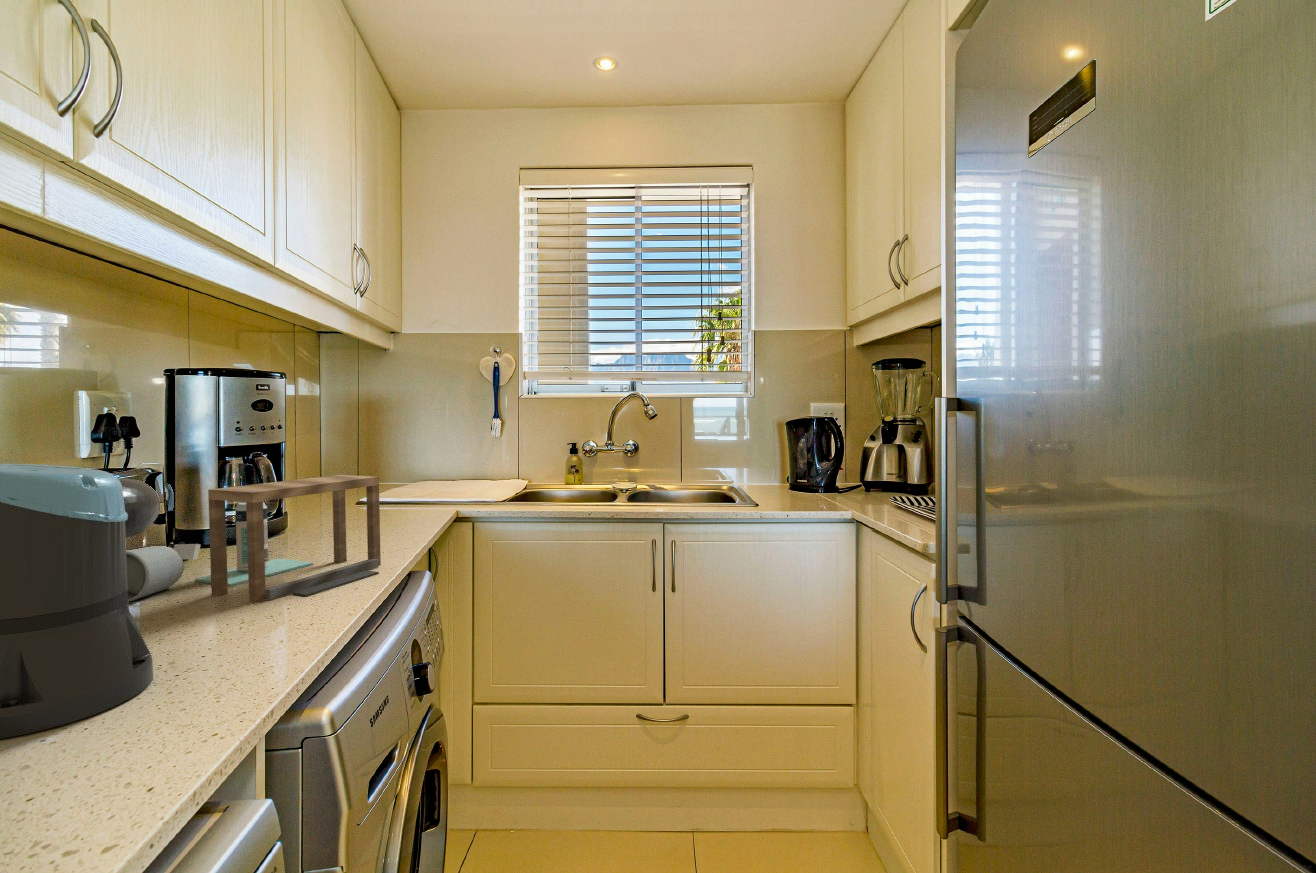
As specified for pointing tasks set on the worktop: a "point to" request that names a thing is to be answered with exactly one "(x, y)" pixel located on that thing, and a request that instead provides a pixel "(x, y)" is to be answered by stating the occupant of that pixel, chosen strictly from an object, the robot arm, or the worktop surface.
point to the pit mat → (335, 583)
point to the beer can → (242, 536)
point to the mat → (273, 569)
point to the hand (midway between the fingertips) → (162, 548)
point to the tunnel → (255, 531)
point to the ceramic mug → (152, 570)
